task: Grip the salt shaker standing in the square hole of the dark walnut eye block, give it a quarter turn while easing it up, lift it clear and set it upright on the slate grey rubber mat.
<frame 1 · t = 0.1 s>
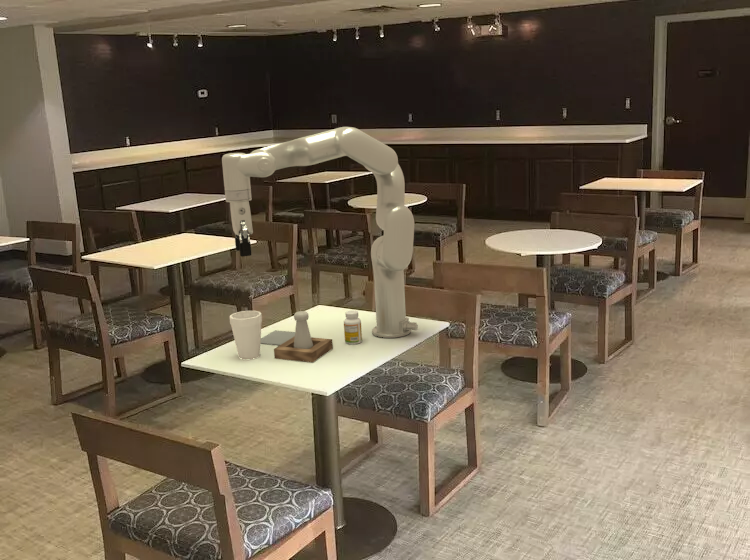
hand: (243, 252, 228), 31 cm above the table, tool pointing down, fingers open, 9 cm apart
eye block: (304, 353, 231), on the table
foam cup: (249, 356, 232), on the table
supplement bottle: (353, 342, 240), on the table
salt shaker: (304, 354, 232), resting in eye block
grey mat: (282, 338, 247), on the table
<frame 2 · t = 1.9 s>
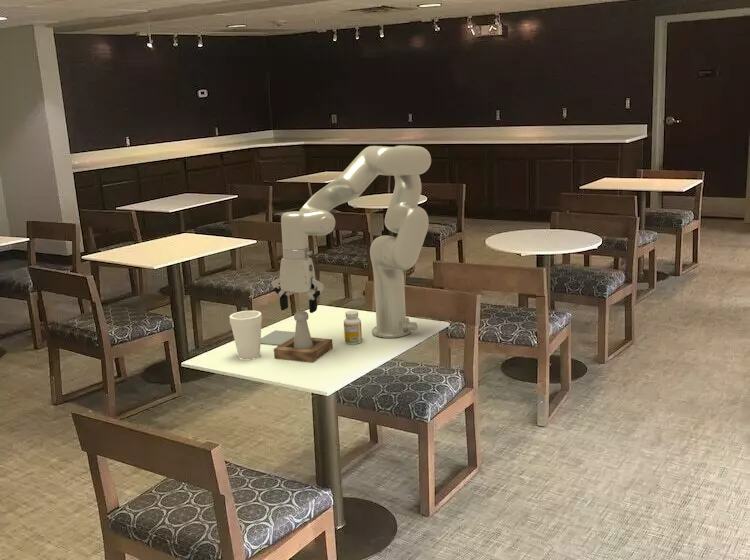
hand: (298, 310, 228), 14 cm above the table, tool pointing down, fingers open, 9 cm apart
nothing on the table moved.
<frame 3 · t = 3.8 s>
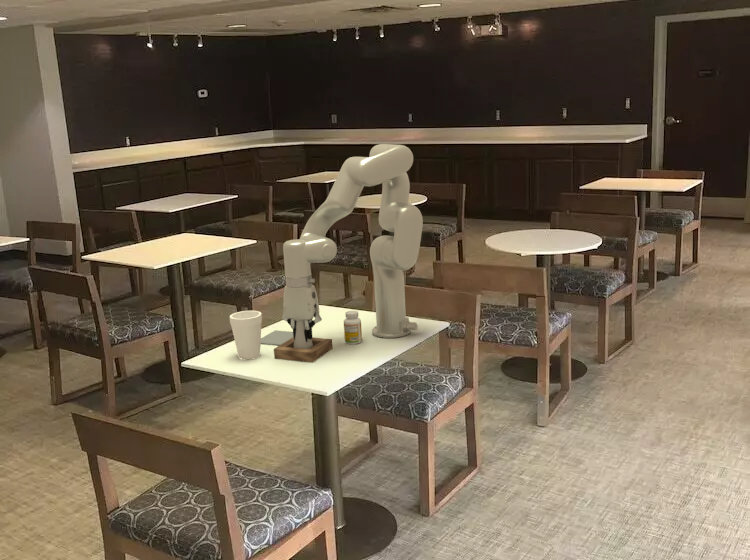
hand: (303, 340, 231), 4 cm above the table, tool pointing down, fingers closed on salt shaker, 3 cm apart
salt shaker: (304, 354, 232), resting in eye block, touching gripper
everything else where it was.
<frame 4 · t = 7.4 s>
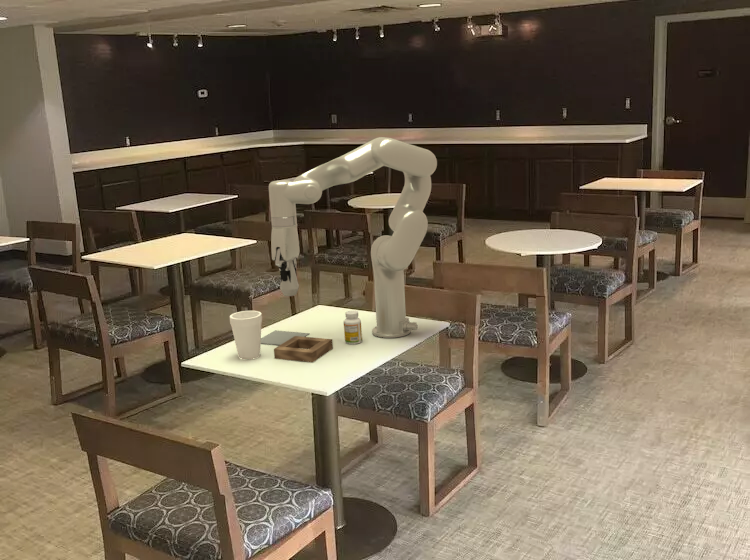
hand: (289, 281, 233), 21 cm above the table, tool pointing down, fingers closed on salt shaker, 3 cm apart
salt shaker: (290, 295, 234), point 17 cm above the table, touching gripper
everything else where it was.
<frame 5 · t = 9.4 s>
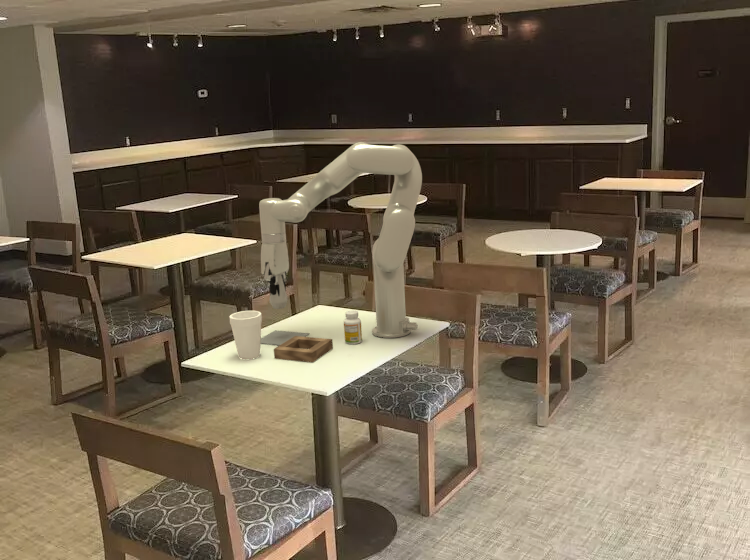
hand: (278, 294, 243), 15 cm above the table, tool pointing down, fingers closed on salt shaker, 3 cm apart
salt shaker: (279, 307, 244), point 10 cm above the table, touching gripper
everything else where it was.
when the fingers open (6 cm above the table, at t = 11.2 s): salt shaker stays where it is, resting on grey mat.
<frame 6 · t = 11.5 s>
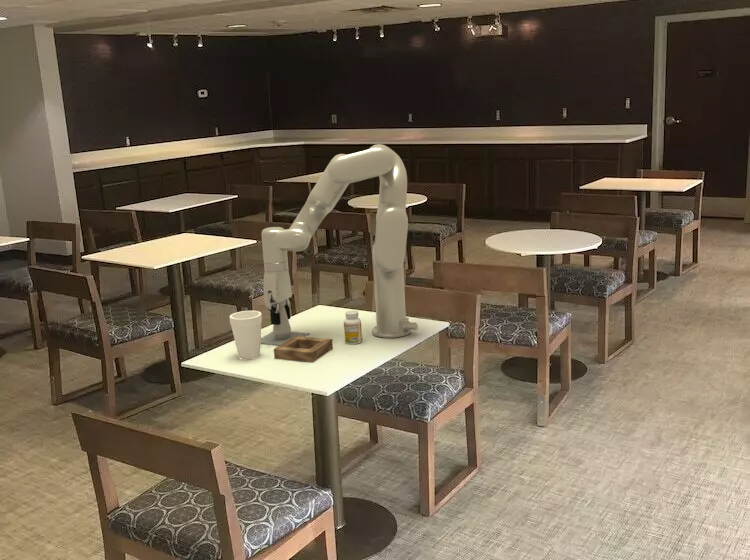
hand: (280, 321, 245), 6 cm above the table, tool pointing down, fingers open, 5 cm apart
salt shaker: (282, 338, 247), resting on grey mat
everything else where it was.
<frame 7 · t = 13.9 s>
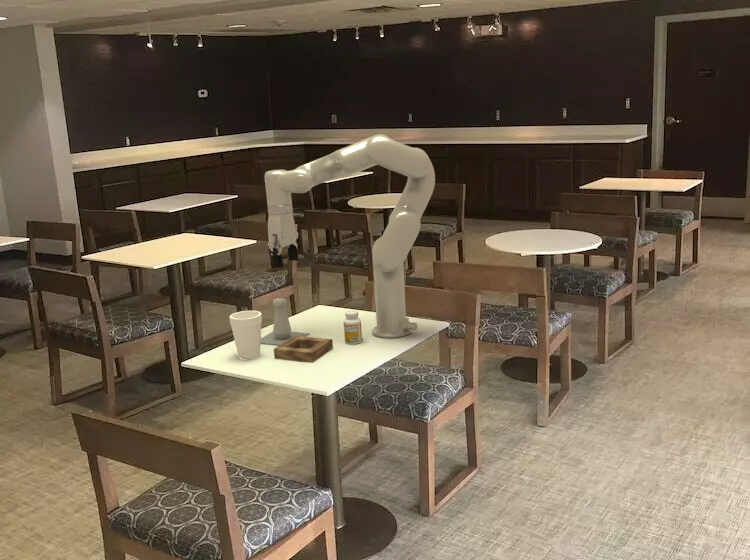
hand: (286, 263, 242), 25 cm above the table, tool pointing down, fingers open, 9 cm apart
nothing on the table moved.
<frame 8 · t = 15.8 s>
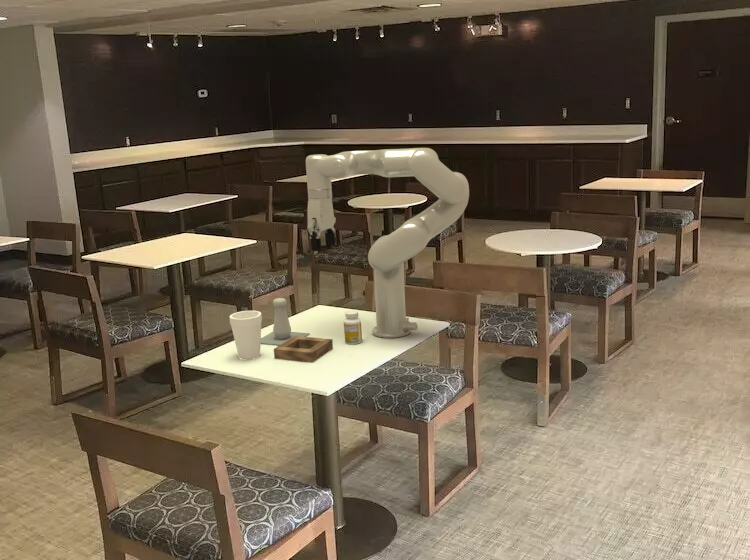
hand: (323, 247, 244), 28 cm above the table, tool pointing down, fingers open, 9 cm apart
nothing on the table moved.
at the end: salt shaker inside the target area on the grey mat (0.2 cm from its centre), point 0.2 cm above the grey mat's base; salt shaker tilted 0°; the gripper is holding nothing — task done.
